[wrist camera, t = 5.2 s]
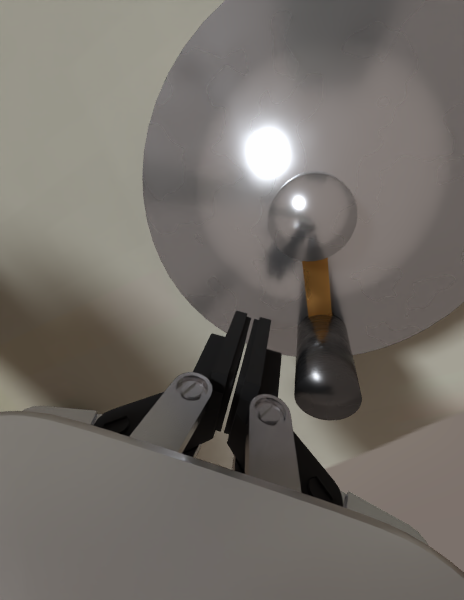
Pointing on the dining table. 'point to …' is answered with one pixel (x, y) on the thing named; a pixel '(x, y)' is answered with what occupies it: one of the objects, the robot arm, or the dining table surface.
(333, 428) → the dining table surface
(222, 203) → the handwheel
